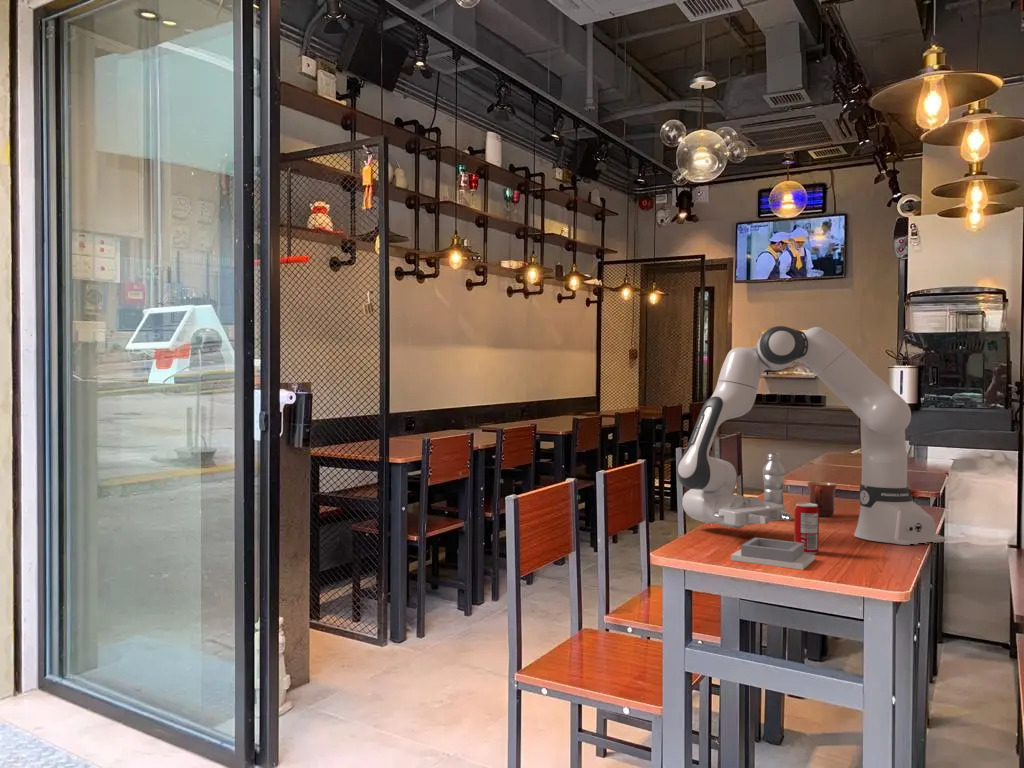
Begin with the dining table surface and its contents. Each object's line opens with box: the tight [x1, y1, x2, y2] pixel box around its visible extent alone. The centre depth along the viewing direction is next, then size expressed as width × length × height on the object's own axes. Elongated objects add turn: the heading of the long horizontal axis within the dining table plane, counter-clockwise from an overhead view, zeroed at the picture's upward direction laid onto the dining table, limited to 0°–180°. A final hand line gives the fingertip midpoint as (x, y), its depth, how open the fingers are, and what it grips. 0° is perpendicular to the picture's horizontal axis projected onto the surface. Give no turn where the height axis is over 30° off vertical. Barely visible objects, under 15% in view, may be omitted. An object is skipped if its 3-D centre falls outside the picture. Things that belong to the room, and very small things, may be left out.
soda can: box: [793, 502, 820, 555], centre depth 188 cm, size 6×6×12 cm
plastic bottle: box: [762, 452, 786, 507], centre depth 236 cm, size 6×7×20 cm
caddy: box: [730, 537, 815, 571], centre depth 179 cm, size 12×16×4 cm
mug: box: [806, 481, 838, 518], centre depth 242 cm, size 12×9×10 cm
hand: (778, 518), depth 195 cm, fingers open, 8 cm apart
